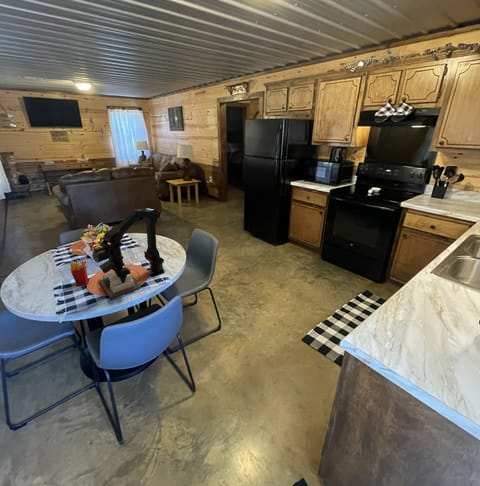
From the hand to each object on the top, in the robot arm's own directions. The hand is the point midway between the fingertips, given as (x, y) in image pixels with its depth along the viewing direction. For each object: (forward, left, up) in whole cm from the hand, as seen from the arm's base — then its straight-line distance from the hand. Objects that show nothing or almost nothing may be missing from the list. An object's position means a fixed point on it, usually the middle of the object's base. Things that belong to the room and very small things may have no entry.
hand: (121, 280), depth 142 cm
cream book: (0, 0, +1) cm, 1 cm away
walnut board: (0, -5, -5) cm, 7 cm away
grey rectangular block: (0, -11, -4) cm, 12 cm away
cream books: (0, 0, -4) cm, 4 cm away
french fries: (+15, -20, -5) cm, 26 cm away
